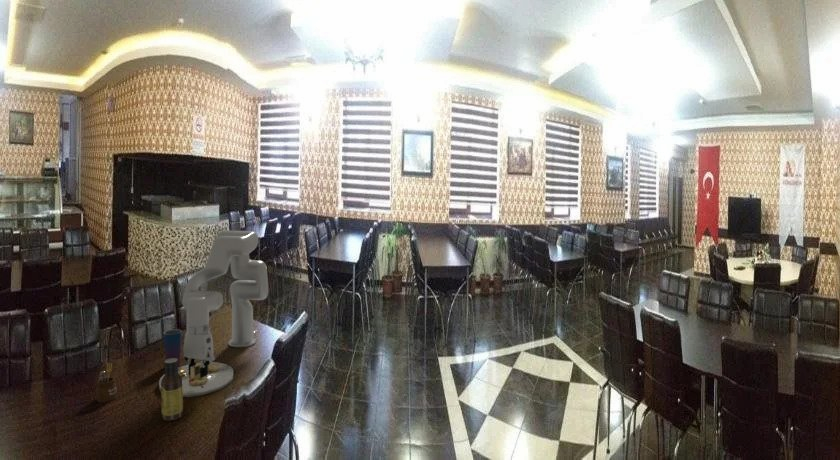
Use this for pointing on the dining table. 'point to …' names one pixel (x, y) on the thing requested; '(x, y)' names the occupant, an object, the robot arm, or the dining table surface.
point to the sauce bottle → (171, 391)
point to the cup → (173, 344)
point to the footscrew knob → (197, 376)
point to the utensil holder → (106, 387)
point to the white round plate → (217, 380)
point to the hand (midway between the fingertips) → (198, 374)
